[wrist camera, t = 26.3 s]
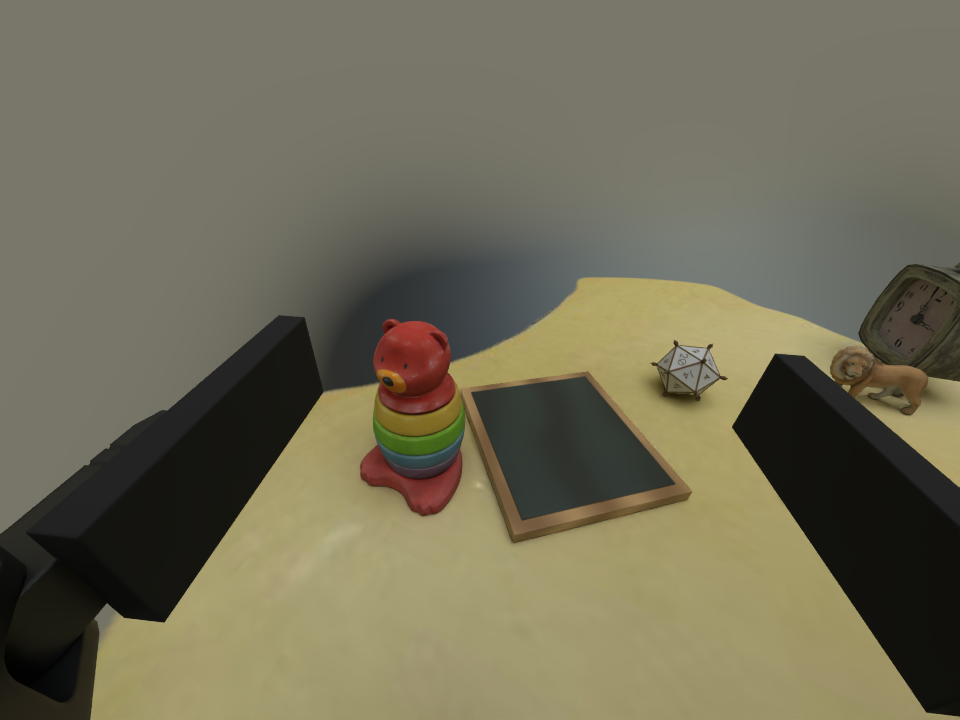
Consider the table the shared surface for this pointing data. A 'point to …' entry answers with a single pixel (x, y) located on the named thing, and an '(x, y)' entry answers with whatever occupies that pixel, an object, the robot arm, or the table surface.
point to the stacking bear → (416, 417)
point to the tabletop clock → (918, 322)
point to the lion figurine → (877, 376)
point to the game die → (688, 370)
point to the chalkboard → (565, 455)
